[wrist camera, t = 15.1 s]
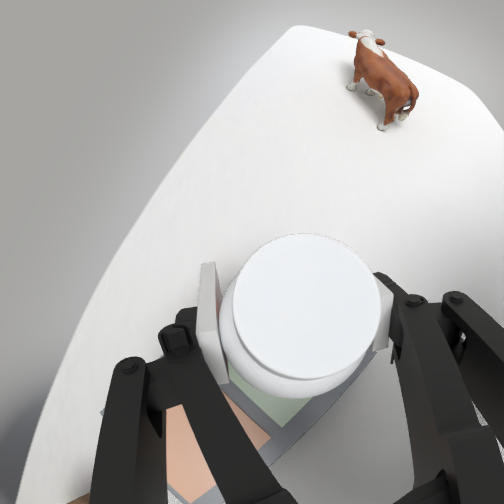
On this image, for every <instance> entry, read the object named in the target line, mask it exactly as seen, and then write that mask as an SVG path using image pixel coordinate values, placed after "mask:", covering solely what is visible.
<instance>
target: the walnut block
mask: <svg viewBox="0 0 504 504" xmlns="http://www.w3.org/2000/svg"><path fill="white" fill-rule="evenodd" d="M89 499H90V493H88V494H86V495H84V496H82V497H80V498H78V499H76V500H74V501H71V502H69V503H67V504H89Z"/></svg>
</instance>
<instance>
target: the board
mask: <svg viewBox="0 0 504 504" xmlns="http://www.w3.org/2000/svg"><path fill="white" fill-rule="evenodd" d="M376 353H377V352H376V351H374V352H372V350H371V349H370V348H368V349H367V351H366V353H365V356H364V357H363V359H362V361H361V363H360V364H359V366H358V367H357V368H356V370H355V371H354V372H353V373H352V374H351V375H350V376H349V377H348V378H347V379H346V380H345V381H344V382H343V383H341V384H340V385H338V386H337V387H335V388H334V389H332V390H330V391H328V392H325V393H323V394H320V395H317V396H313V397H308V398H300V399H290V398H281V397H277V396H273V395H270V394H267V393H265V392H262V391H260V390H258V389H257V388H255V387H253V386H252V385H250V384H249V383H248V382H246V381H245V380H244V379H243V378H242V377H241V376H240V375H239V374H238V373H237V372H236V370H235V369H234V368H233V367H232V365H231V363H230V362H229V360H228V370H229V382H230V383H227V384H220V385H219V387H220V389H221V391H222V393H223V394H224V396H225V398H226V400H227V401H228V403H229V405H230V407H231V408H232V410H233V412H234V413H235V415H236V417H237V418H238V420H239V422H240V423H241V425H242V427H243V428H244V430H245V432H246V433H247V435H248V437H249V438H250V440H251V442H252V443H253V445H254V446H255V448H256V449H257V451H258V453H259V454H260V456H261V457H262V459H263V460H264V462H265V464H266V465H267V467H269V466H270V465H271V464H272V463H274V462H275V461H276V460H277V459H278V458H279V457H280V456H281V455H282V454H284V453H285V452H286V451H287V450H288V449H289V448H290V447H291V446H292V445H293V444H294V443H295V442H296V441H297V440H298V439H299V438H301V437H302V436H303V435H304V434H305V433H306V432H307V431H308V430H309V429H310V428H311V427H312V426H313V425H314V424H315V423H316V422H317V421H318V420H319V419H320V417H321V416H322V415H323V414H324V413H325V412H326V411H327V410H328V409H329V408H330V407H331V406H332V405H333V404H334V403H335V401H336V400H337V399H338V398H339V397H340V396H341V395H342V394H343V393H344V392H345V390H346V389H347V388H348V387H349V386H350V385H351V384H352V382H353V381H354V380H355V379H356V378H357V377H358V375H359V374H360V373H361V372H362V371H363V369H364V368H365V367H366V366H367V364H368V363H369V362H370V361H371V360H372V358H373V357H374V356H375V355H376ZM163 356H164V355H162V356H161V357H160V358H162V357H163ZM160 358H159V359H160ZM104 410H105V408H104V409H103V410H102V411H101V412H100V414H101V415H102V416H103V414H104ZM166 411H167V412H166V462H167V489H168V490H169V491H170V492H171V493H172V494H173V495H174V496H175V497H177V498H178V499H179V500H180V501H181V502H182V503H183V504H223V503H224V502H225V500H224V498H223V496H222V494H221V492H220V490H219V488H218V486H217V484H216V482H215V480H214V478H213V476H212V474H211V472H210V470H209V467H208V465H207V463H206V461H205V459H204V456H203V454H202V452H201V450H200V447H199V445H198V443H197V440H196V438H195V436H194V433H193V431H192V429H191V426H190V424H189V421H188V419H187V416H186V414H185V411H184V409H183V406H182V404H181V405H178V406H175V407H172V408H169V409H166Z"/></svg>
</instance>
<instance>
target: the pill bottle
mask: <svg viewBox="0 0 504 504" xmlns="http://www.w3.org/2000/svg"><path fill="white" fill-rule="evenodd" d="M380 317H381V298H380V292H379V288H378V285H377V282H376V280H375V278H374V276H373V273H372V272H371V270H370V268H369V267H368V266H367V264H366V263H365V262H364V260H363V259H362V258H361V257H360V256H359V255H358V254H357V253H356V252H355V251H354V250H352V249H351V248H349V247H348V246H347V245H345V244H343V243H341V242H339V241H337V240H335V239H332V238H330V237H327V236H323V235H318V234H308V233H299V234H291V235H287V236H283V237H280V238H277V239H275V240H273V241H271V242H269V243H267V244H265V245H264V246H262V247H261V248H260V249H258V250H257V251H256V252H255V253H254V254H253V255H252V256H251V257H250V258H249V259H248V260H247V262H246V263H245V264H244V266H243V267H242V269H241V271H240V272H239V273H238V274H237V275H236V276H235V277H234V279H233V280H232V282H231V283H230V285H229V287H228V288H227V290H226V292H225V295H224V297H223V300H222V303H221V307H220V312H219V334H220V339H221V343H222V346H223V349H224V352H225V354H226V356H227V358H228V360H229V362H230V363H231V365H232V367H233V368H234V369H235V370H236V372H237V373H238V374H239V375H240V376H241V377H242V378H243V379H244V380H245V381H246V382H248V383H249V384H250V385H252V386H253V387H255V388H257V389H258V390H260V391H262V392H265V393H267V394H270V395H273V396H277V397H281V398H290V399H300V398H308V397H313V396H317V395H320V394H323V393H325V392H328V391H330V390H332V389H334V388H335V387H337V386H338V385H340V384H341V383H343V382H344V381H345V380H346V379H347V378H348V377H349V376H350V375H351V374H352V373H353V372H354V371H355V370H356V368H357V367H358V366H359V364H360V363H361V361H362V359H363V357H364V356H365V353H366V351H367V349H368V348H369V346H370V345H371V343H372V341H373V339H374V337H375V335H376V333H377V330H378V326H379V322H380Z"/></svg>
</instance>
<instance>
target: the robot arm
mask: <svg viewBox="0 0 504 504" xmlns="http://www.w3.org/2000/svg"><path fill="white" fill-rule="evenodd" d="M373 276H374V278H375V280H376V282H377V285H378V288H379V292H380V298H381V317H380V322H379V326H378V330H377V333H376V335H375V337H374V339H373V341H372V343H371V345H370V346H369V348H370V349H371V350H372V352H374V351H377V350H381V349H384V348H387V347H388V341H389V337H390V338H391V340H392V341H393V342H394V343H393V350H392V356H391V364H393V360H394V359H395V364H396V368H397V372H398V377H399V382H400V387H401V392H402V397H403V402H404V407H405V413H406V418H407V424H408V430H409V437H410V443H411V450H412V458H413V466H414V475H415V479H414V485H413V490H412V491H410V492H409V493H408V494H406V495H405V496H403V497H402V498H401V499H399V500H398V501H396V502H395V503H394V504H504V463H503V460H502V456H501V453H500V450H499V446H498V443H497V440H496V437H497V439H498V440H499V442H500V443H501V445H502V447H503V448H504V329H503V328H502V327H501V326H500V325H499V324H498V323H497V322H496V321H495V320H494V319H493V318H492V317H491V316H490V315H488V314H487V313H486V312H485V311H484V310H483V309H482V308H481V307H480V306H478V305H477V304H476V303H475V302H474V301H473V300H472V299H470V298H469V297H468V296H467V295H465V294H464V293H461V292H459V291H451V292H447V293H445V294H444V295H443V300H442V302H441V303H428V301H427V300H426V299H425V298H424V297H422V296H419V295H415V294H409V295H408V294H407V293H406V292H405V291H404V290H403V289H402V288H400V287H399V286H398V285H396V283H395V282H394V281H392V279H390V278H389V277H388V276H387V275H385V274H382V273H380V272H377V273H373ZM222 300H223V299H222V295H221V290H220V285H219V280H218V275H217V270H216V265H215V262H210V263H204V264H201V273H200V284H199V296H198V307H191V308H185V309H181V310H180V311H179V313H178V314H177V315H176V319H175V323H174V324H170V325H168V326H166V327H164V328H163V329H162V330H161V331H160V332H159V334H158V339H159V342H160V345H161V348H162V350H163V353H164V356H163V357H162V358H160V359H158V360H155V361H152V362H149V363H146V362H145V361H144V360H143V359H142V358H140V357H128V358H125V359H123V360H121V361H120V362H119V363H118V364H117V365H116V366H115V368H114V371H113V375H112V379H111V383H110V387H109V392H108V396H107V401H106V405H105V410H104V414H103V419H102V424H101V429H100V434H99V440H98V445H97V451H96V457H95V463H94V469H93V476H92V483H91V491H90V499H89V504H168V495H167V462H166V412H167V411H166V409H169V408H172V407H175V406H178V405H181V404H182V406H183V409H184V411H185V414H186V416H187V419H188V421H189V424H190V426H191V429H192V431H193V433H194V436H195V438H196V440H197V443H198V445H199V447H200V450H201V452H202V454H203V456H204V459H205V461H206V463H207V465H208V467H209V470H210V472H211V474H212V476H213V478H214V480H215V482H216V484H217V486H218V488H219V490H220V492H221V494H222V496H223V498H224V500H225V502H226V504H298V503H297V502H296V500H295V499H294V498H293V496H292V495H291V494H290V493H289V492H288V491H287V490H286V489H284V488H282V487H281V486H280V484H279V483H278V482H277V480H276V479H275V477H274V476H273V474H272V473H271V471H270V470H269V468H268V467H267V465H266V464H265V462H264V460H263V459H262V457H261V456H260V454H259V453H258V451H257V449H256V448H255V446H254V445H253V443H252V442H251V440H250V438H249V437H248V435H247V433H246V432H245V430H244V428H243V427H242V425H241V423H240V422H239V420H238V418H237V417H236V415H235V413H234V412H233V410H232V408H231V407H230V405H229V403H228V401H227V400H226V398H225V396H224V394H223V393H222V391H221V389H220V387H219V385H220V384H227V383H230V382H229V370H228V358H227V356H226V354H225V352H224V349H223V346H222V343H221V339H220V334H219V312H220V307H221V303H222ZM462 332H463V333H464V334H465V336H466V339H465V341H464V340H463V339H462V338H461V336H462ZM471 400H472V401H473V403H474V404H475V405H476V407H477V408H478V410H479V411H480V413H481V414H482V416H483V417H484V419H485V420H486V422H487V423H488V425H489V426H488V425H486V426H481V425H480V423H479V421H478V418H477V415H476V412H475V409H474V406H473V404H472V401H471ZM495 436H496V437H495Z"/></svg>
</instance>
